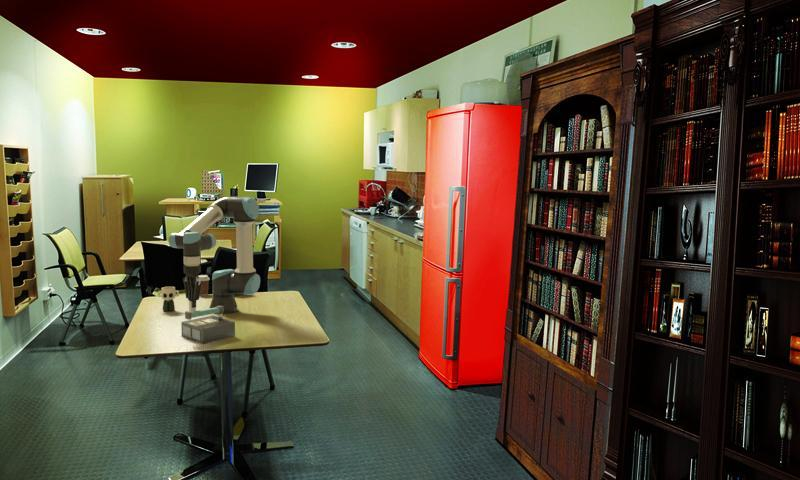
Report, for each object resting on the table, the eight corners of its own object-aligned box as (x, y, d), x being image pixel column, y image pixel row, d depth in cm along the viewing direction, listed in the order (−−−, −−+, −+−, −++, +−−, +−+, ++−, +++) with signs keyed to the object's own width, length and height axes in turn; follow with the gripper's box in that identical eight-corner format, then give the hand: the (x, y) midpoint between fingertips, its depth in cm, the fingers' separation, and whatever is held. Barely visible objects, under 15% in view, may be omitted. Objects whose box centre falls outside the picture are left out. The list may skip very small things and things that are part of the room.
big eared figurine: (157, 312, 308) (157, 289, 307) (158, 309, 315) (158, 286, 314) (178, 311, 312) (178, 288, 310) (179, 308, 318) (179, 286, 317)
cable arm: (221, 311, 273) (221, 305, 273) (225, 312, 271) (224, 306, 271) (185, 318, 258) (185, 311, 258) (189, 319, 256) (188, 312, 256)
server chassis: (181, 336, 266) (180, 315, 264) (213, 329, 279) (213, 308, 278) (202, 344, 254) (202, 322, 253) (234, 336, 268) (234, 315, 267)
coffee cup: (191, 295, 354) (191, 276, 352) (201, 292, 362) (201, 274, 361) (203, 296, 350) (203, 277, 349) (213, 294, 359) (212, 275, 358)
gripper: (177, 264, 265) (178, 312, 268) (192, 267, 257) (193, 317, 260) (191, 262, 271) (192, 310, 274) (207, 265, 263) (207, 315, 265)
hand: (192, 313), depth 267 cm, fingers closed
